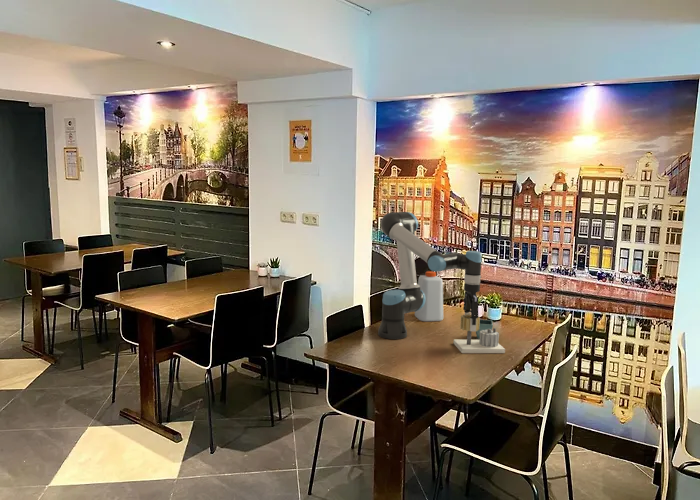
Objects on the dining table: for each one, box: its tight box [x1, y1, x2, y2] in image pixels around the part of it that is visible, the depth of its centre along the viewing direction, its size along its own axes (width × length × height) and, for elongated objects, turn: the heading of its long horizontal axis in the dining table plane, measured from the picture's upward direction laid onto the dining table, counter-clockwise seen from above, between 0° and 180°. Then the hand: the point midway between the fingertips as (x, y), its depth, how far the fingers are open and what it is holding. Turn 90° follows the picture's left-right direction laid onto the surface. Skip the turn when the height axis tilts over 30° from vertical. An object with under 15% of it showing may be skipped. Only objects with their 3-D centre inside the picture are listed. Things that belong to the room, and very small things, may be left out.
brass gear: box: [459, 314, 481, 332], centre depth 255 cm, size 9×9×6 cm
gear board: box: [453, 327, 506, 354], centre depth 257 cm, size 21×15×10 cm
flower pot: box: [475, 318, 494, 340], centre depth 273 cm, size 9×9×9 cm
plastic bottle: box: [414, 270, 444, 322], centre depth 309 cm, size 15×15×28 cm
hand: (469, 328), depth 255 cm, fingers closed on brass gear, 9 cm apart
